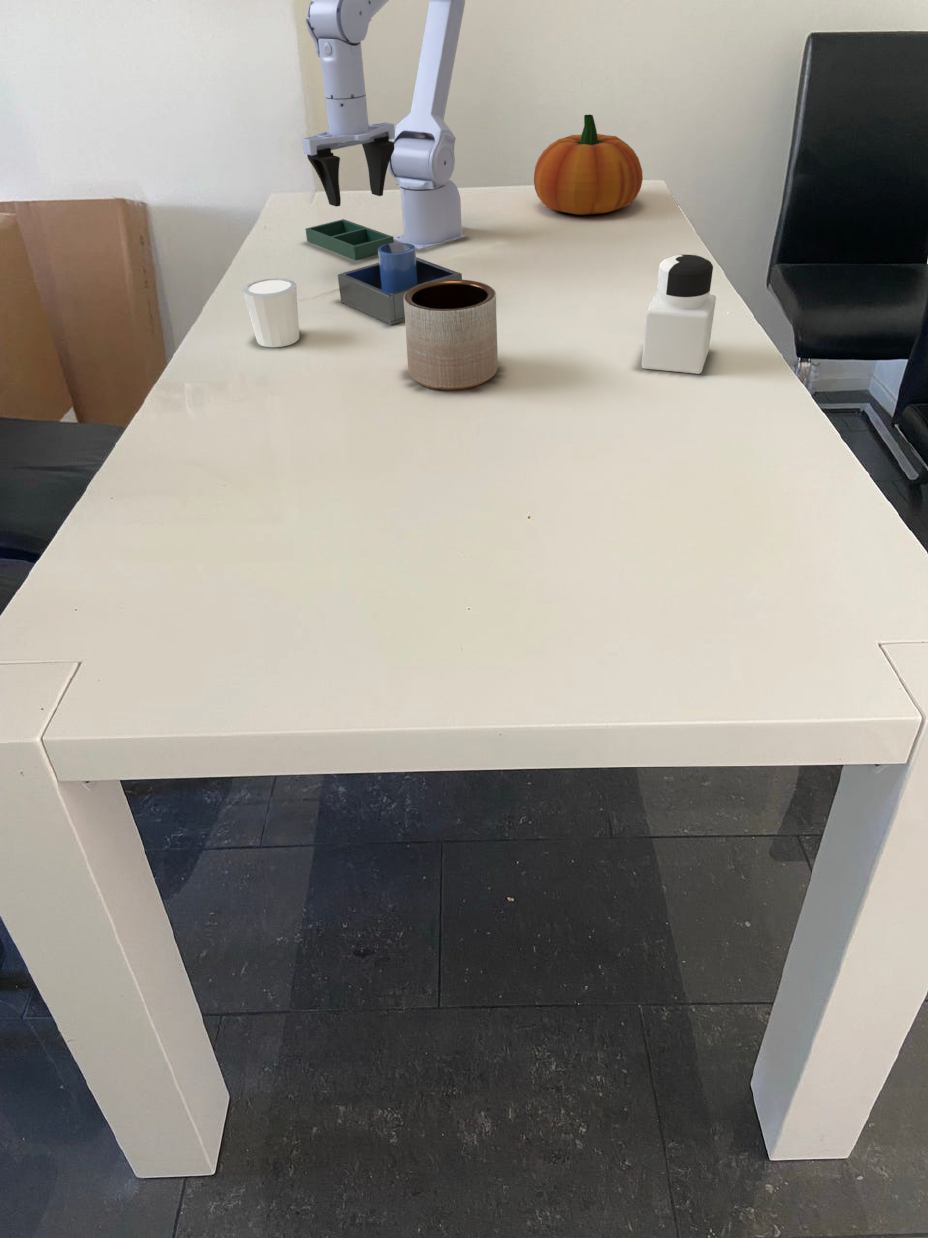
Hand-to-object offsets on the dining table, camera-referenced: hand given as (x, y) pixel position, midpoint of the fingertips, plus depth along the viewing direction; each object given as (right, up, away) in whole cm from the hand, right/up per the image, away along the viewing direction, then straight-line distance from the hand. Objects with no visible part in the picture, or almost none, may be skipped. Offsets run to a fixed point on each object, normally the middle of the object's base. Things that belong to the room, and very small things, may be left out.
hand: (356, 199), depth 134 cm
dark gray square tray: (+7, -17, -5) cm, 19 cm away
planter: (+15, -33, -25) cm, 44 cm away
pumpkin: (+38, +12, +30) cm, 50 cm away
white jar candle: (-9, -25, -14) cm, 30 cm away
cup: (+7, -17, -5) cm, 19 cm away
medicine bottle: (+42, -31, -24) cm, 58 cm away
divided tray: (-3, -1, +16) cm, 16 cm away
